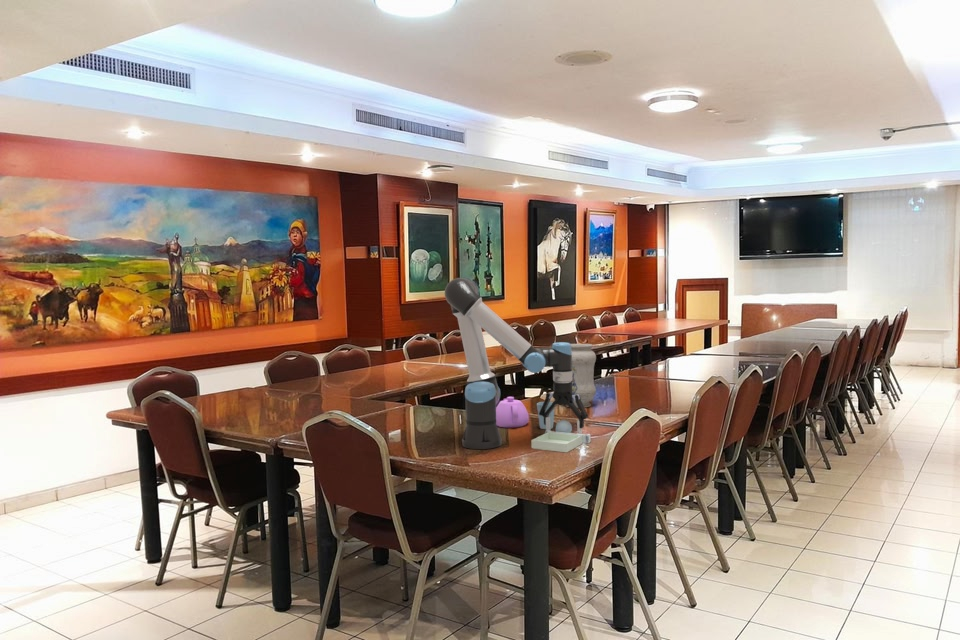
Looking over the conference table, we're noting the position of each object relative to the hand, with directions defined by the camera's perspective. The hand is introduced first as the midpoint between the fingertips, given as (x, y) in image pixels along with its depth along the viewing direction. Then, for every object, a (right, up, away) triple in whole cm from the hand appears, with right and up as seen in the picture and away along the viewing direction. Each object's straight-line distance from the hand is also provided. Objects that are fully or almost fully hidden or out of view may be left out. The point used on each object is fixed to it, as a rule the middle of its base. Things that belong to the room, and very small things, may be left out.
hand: (563, 434), depth 274 cm
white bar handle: (0, -1, -7) cm, 7 cm away
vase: (+15, +4, +62) cm, 64 cm away
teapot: (-20, 0, +25) cm, 32 cm away
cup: (-5, 0, +16) cm, 17 cm away
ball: (0, -1, 0) cm, 1 cm away
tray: (-4, -2, -15) cm, 16 cm away
